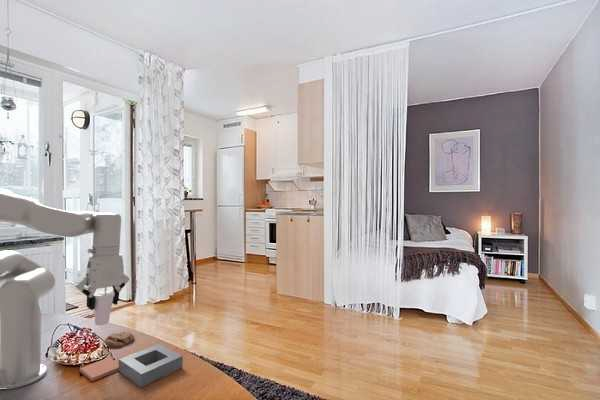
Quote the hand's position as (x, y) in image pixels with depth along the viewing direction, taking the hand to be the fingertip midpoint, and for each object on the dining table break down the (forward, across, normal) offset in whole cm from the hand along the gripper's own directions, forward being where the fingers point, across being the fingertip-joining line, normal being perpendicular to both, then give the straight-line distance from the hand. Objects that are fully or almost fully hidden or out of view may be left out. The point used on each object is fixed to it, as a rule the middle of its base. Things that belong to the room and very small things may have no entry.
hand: (102, 305), depth 104 cm
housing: (+21, +11, -12) cm, 26 cm away
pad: (+21, 0, 0) cm, 21 cm away
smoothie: (+6, 0, 0) cm, 6 cm away
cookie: (+22, +14, +16) cm, 30 cm away
